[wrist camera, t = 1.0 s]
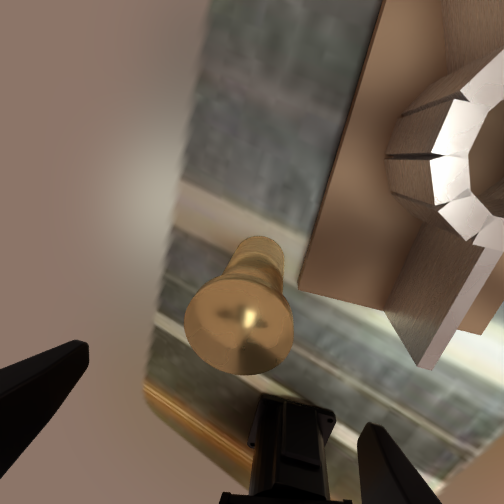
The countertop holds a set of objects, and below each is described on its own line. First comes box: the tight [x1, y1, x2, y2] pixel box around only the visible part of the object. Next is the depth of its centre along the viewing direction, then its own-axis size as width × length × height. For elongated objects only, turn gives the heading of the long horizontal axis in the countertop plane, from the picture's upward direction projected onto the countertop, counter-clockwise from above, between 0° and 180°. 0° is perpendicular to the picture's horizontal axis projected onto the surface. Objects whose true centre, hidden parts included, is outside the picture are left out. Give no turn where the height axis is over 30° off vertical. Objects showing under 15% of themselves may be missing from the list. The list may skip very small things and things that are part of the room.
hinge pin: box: [184, 236, 294, 375], centre depth 14 cm, size 5×5×8 cm
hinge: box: [383, 0, 504, 370], centre depth 11 cm, size 19×9×5 cm, turn 169°
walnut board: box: [298, 0, 504, 335], centre depth 14 cm, size 20×12×1 cm, turn 169°
